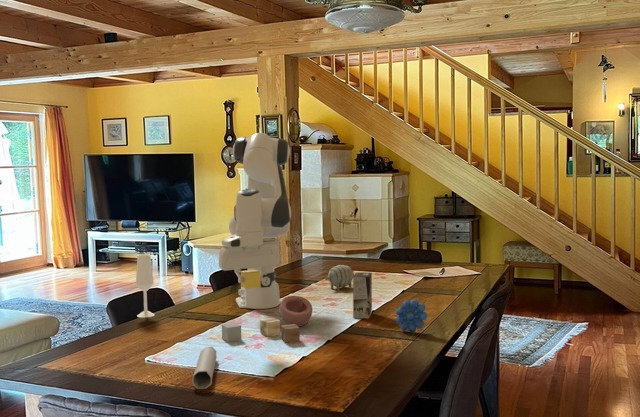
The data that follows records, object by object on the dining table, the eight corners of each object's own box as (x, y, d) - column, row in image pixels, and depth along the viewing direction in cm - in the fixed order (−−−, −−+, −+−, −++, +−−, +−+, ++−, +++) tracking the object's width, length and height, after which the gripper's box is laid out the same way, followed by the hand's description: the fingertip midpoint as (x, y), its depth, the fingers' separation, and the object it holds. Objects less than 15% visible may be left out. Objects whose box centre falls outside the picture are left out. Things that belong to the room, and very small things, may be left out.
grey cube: (222, 338, 216) (221, 324, 215) (235, 336, 218) (235, 322, 218) (227, 342, 212) (227, 327, 211) (241, 340, 214) (241, 325, 214)
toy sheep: (360, 287, 296) (360, 264, 295) (335, 293, 285) (335, 268, 284) (344, 284, 304) (344, 261, 303) (319, 289, 292) (318, 266, 291)
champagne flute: (158, 314, 250) (156, 254, 248) (146, 318, 244) (144, 256, 242) (144, 312, 253) (142, 253, 251) (133, 316, 247) (131, 255, 245)
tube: (197, 347, 194) (189, 374, 169) (214, 341, 194) (208, 367, 169) (203, 363, 194) (196, 392, 170) (220, 357, 195) (215, 385, 170)
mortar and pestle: (287, 332, 223) (287, 300, 222) (274, 324, 233) (273, 293, 232) (318, 327, 228) (317, 296, 227) (303, 320, 239) (303, 290, 238)
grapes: (431, 331, 222) (431, 297, 221) (425, 336, 216) (425, 301, 215) (399, 327, 227) (400, 294, 226) (393, 332, 221) (393, 298, 220)
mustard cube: (240, 286, 208) (240, 271, 208) (255, 284, 210) (255, 269, 210) (245, 288, 204) (245, 273, 203) (260, 287, 206) (260, 272, 205)
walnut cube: (281, 339, 214) (281, 325, 214) (295, 338, 216) (295, 323, 215) (285, 343, 209) (284, 329, 209) (299, 342, 211) (299, 327, 210)
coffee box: (369, 318, 240) (369, 276, 239) (352, 318, 241) (352, 276, 240) (372, 312, 249) (372, 272, 247) (356, 312, 250) (355, 271, 249)
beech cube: (260, 333, 222) (260, 319, 221) (272, 331, 225) (272, 317, 224) (267, 337, 218) (267, 322, 217) (280, 334, 220) (279, 320, 220)
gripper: (275, 236, 213) (276, 276, 214) (216, 240, 204) (217, 282, 205) (283, 238, 207) (283, 280, 209) (222, 242, 199) (223, 286, 200)
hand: (250, 281), depth 207 cm, fingers closed on mustard cube, 5 cm apart
